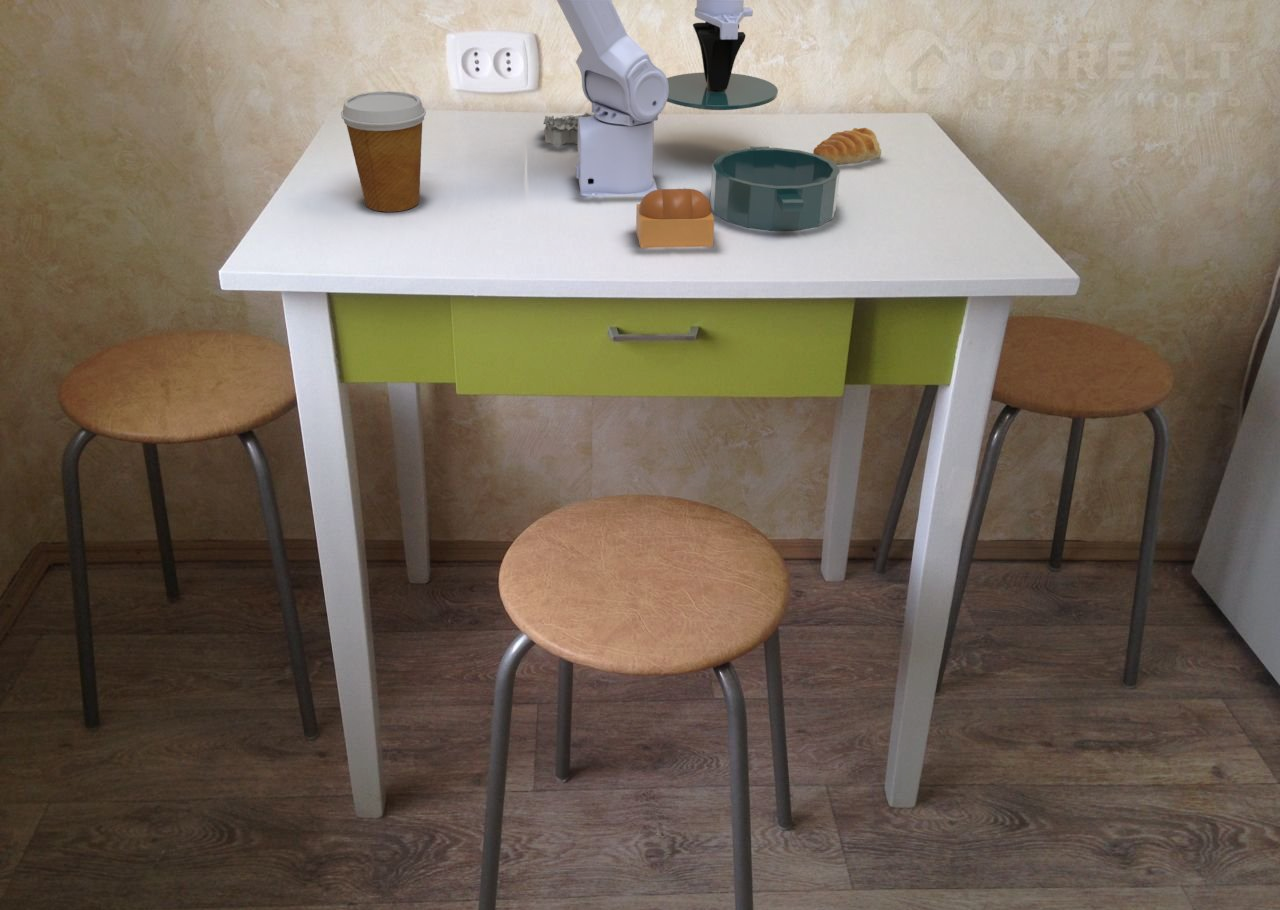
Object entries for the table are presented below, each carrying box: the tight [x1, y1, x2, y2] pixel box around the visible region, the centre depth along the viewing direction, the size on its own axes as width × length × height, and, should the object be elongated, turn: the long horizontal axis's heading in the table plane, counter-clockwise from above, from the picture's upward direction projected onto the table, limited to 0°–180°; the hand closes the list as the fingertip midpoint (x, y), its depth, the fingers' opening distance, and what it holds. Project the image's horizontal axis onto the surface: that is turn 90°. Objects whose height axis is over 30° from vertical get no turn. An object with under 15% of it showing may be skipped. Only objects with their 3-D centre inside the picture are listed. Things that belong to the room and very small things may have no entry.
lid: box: [666, 72, 779, 111], centre depth 144 cm, size 16×16×5 cm
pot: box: [709, 146, 841, 232], centre depth 134 cm, size 15×20×6 cm
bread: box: [635, 188, 715, 249], centre depth 125 cm, size 8×5×6 cm, turn 96°
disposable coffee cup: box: [340, 90, 427, 213], centre depth 133 cm, size 10×10×12 cm
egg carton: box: [543, 112, 595, 147], centre depth 156 cm, size 11×8×4 cm
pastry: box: [812, 127, 882, 166], centre depth 152 cm, size 9×7×4 cm
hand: (716, 85), depth 144 cm, fingers closed on lid, 2 cm apart
